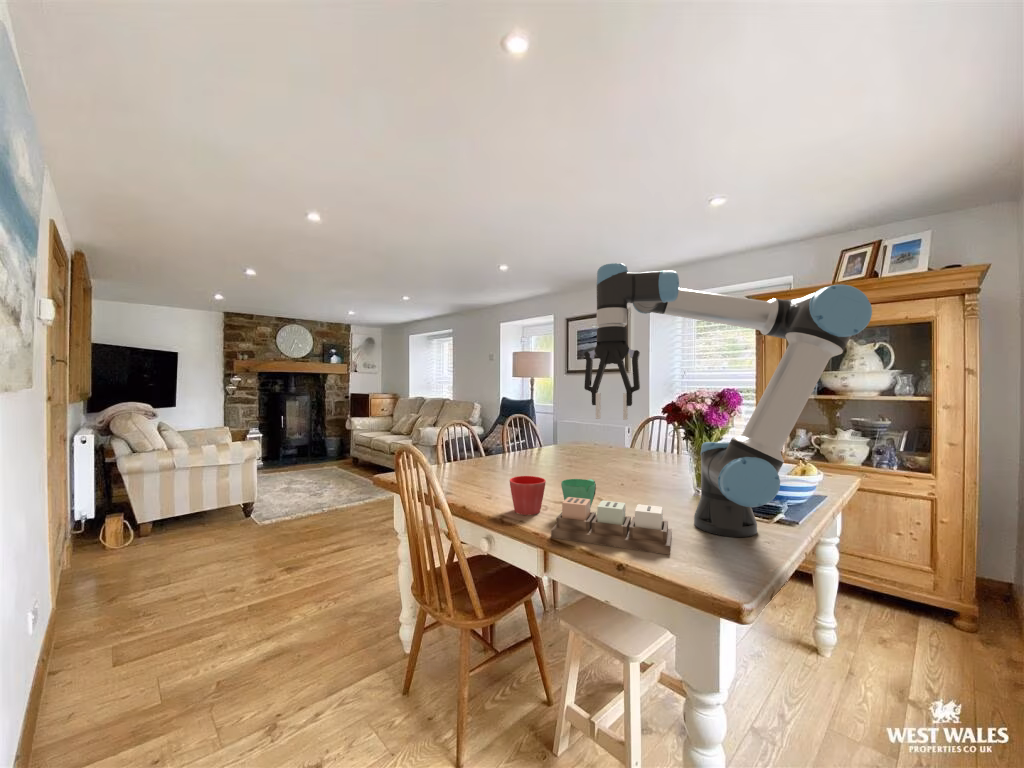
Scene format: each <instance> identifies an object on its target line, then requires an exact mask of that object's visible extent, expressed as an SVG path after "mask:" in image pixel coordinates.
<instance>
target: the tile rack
mask: <svg viewBox="0 0 1024 768" xmlns="http://www.w3.org/2000/svg"><path fill="white" fill-rule="evenodd" d="M555 520H556V524H555V525H554V526H553V527H552V528H551V530H550V531H551V532H550V535H551V537H550V538H553V539H560V540H566V541H572V542H580V543H588V544H595V545H599V546H605V547H607V546H608V547H615V548H621V549H627V550H628V549H629V550H635V551H641V552H649V553H656V554H661V555H662V554H663V555H668V556H669V555H671V548H672V537H673V536H672V534H673V533H672V532H673V531H672V528H669V520H664V519H663V524H662V530H657V529H649V528H641V527H635V516H633V517H631V516H628V515H625V521H624V523H623V525H617V524H609V523H601V522H597V513H596V512H595V511H590V516H589V517H588V518H587V520H586V521H585V520H578V519H570V518H562V512H561V513H559V514H558V515H557V516H556V518H555Z"/></svg>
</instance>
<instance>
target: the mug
mask: <svg viewBox="0 0 1024 768" xmlns="http://www.w3.org/2000/svg"><path fill="white" fill-rule="evenodd" d="M560 484H561V485H560V486H561V490H562V495H563V499H564V500H566V499H567V498H568V497H574V498H584V499H590V509H591V507H592V505H593V502H594V499H595V496H596V488H597V485H596V481H595V480H594V479H592V478H588V479H583V478H569V479H564V480H562V481H561V483H560ZM564 500H563V501H564Z"/></svg>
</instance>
